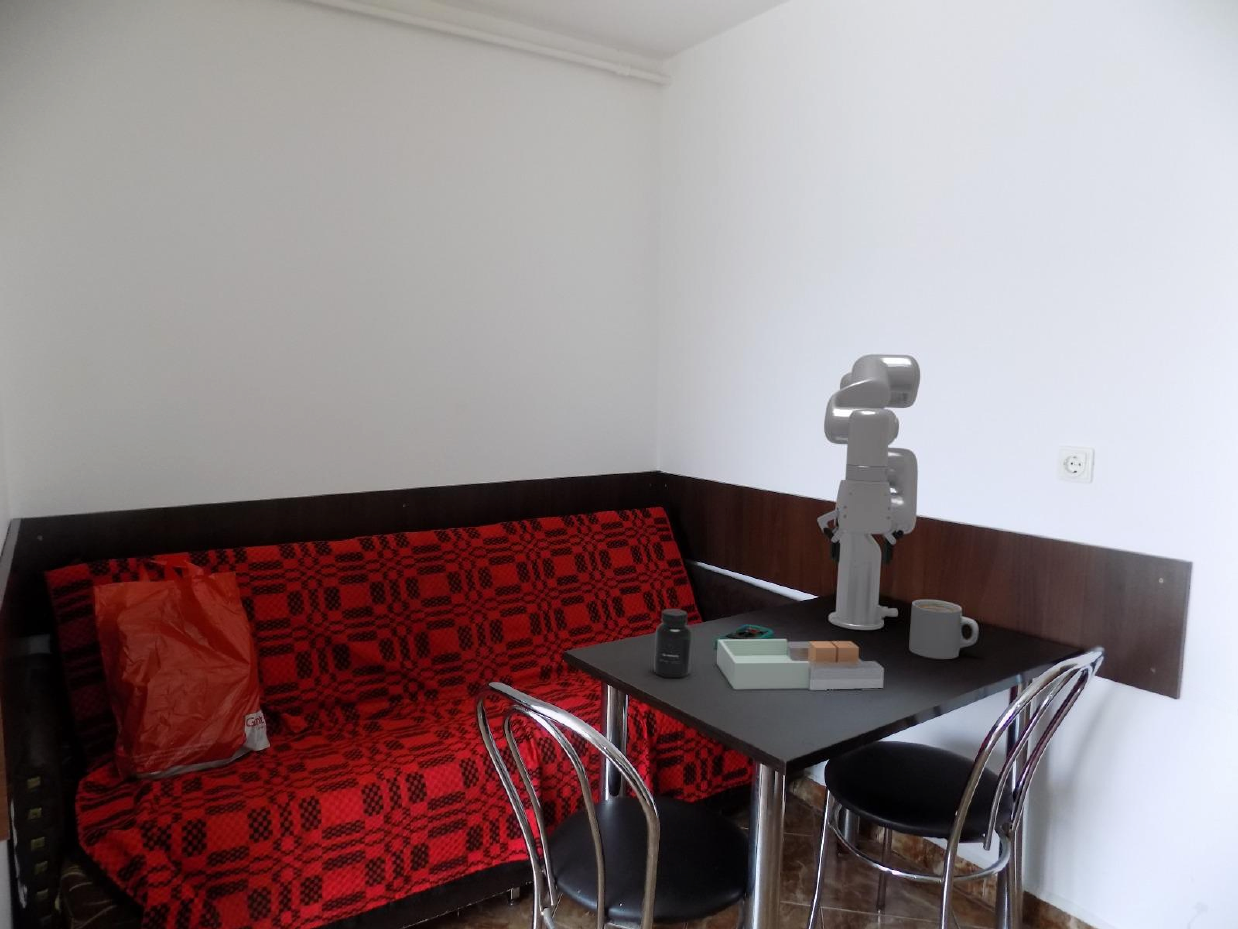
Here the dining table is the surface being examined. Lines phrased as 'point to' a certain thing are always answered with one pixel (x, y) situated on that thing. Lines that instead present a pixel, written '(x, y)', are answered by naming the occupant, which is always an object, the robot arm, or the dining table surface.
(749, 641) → the tray
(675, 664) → the supplement bottle
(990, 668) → the dining table surface
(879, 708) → the dining table surface
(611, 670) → the dining table surface
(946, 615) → the coffee mug
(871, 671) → the slotted block
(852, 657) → the chip
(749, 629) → the digital multimeter
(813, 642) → the chip
